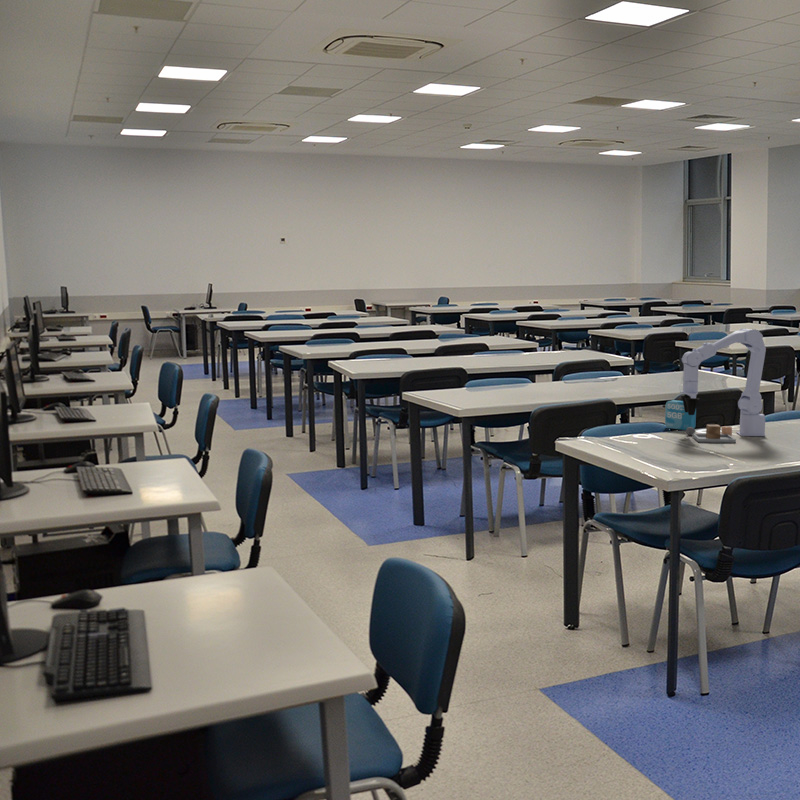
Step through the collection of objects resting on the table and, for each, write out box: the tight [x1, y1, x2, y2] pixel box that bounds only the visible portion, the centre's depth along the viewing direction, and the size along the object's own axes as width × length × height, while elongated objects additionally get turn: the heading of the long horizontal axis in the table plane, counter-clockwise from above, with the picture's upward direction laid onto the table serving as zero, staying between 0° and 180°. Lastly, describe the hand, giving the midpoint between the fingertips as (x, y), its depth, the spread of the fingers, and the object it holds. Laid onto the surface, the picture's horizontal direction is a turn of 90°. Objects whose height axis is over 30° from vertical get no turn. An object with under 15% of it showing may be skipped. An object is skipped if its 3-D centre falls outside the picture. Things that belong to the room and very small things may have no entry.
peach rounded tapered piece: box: [720, 425, 733, 437], centre depth 342 cm, size 4×4×4 cm
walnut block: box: [705, 424, 722, 439], centre depth 334 cm, size 4×4×6 cm
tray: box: [692, 433, 737, 444], centre depth 334 cm, size 14×12×2 cm
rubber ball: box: [685, 427, 696, 436], centre depth 346 cm, size 4×4×4 cm
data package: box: [664, 399, 697, 431], centre depth 362 cm, size 12×4×12 cm, turn 46°
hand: (689, 413), depth 343 cm, fingers open, 7 cm apart
